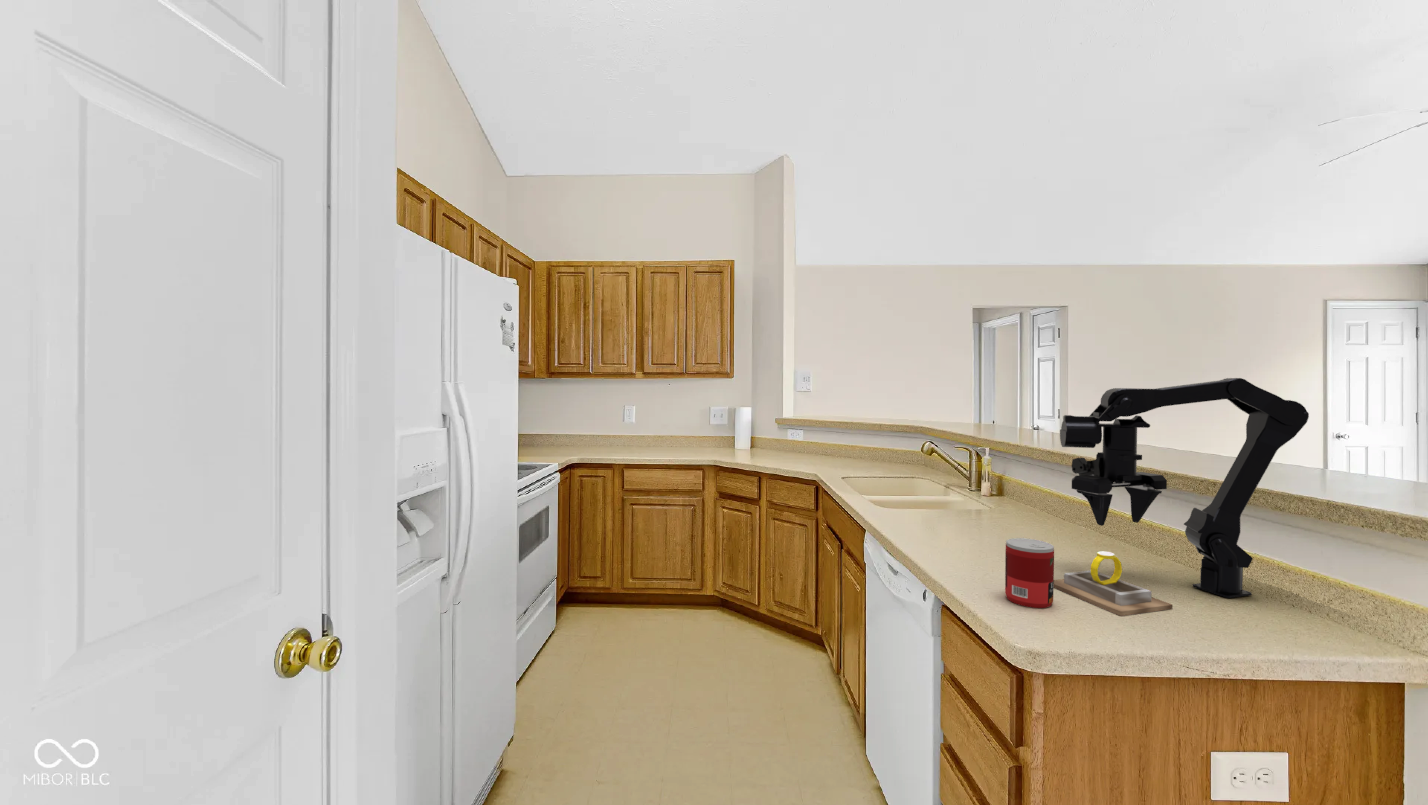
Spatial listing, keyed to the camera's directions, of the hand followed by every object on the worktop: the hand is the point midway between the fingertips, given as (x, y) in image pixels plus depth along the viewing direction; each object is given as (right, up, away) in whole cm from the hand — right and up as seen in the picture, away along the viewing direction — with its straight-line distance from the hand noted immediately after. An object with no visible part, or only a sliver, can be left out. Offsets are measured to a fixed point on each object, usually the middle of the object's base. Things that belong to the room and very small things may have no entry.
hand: (1118, 523), depth 116 cm
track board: (-8, -12, -8) cm, 17 cm away
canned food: (-24, -13, -10) cm, 29 cm away
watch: (-8, -10, -8) cm, 15 cm away
